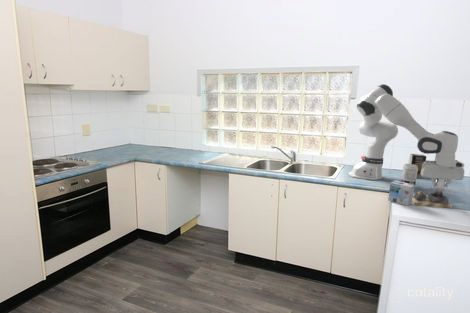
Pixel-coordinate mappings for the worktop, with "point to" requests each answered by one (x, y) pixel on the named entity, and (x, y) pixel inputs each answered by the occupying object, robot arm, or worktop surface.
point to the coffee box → (417, 162)
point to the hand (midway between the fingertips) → (439, 186)
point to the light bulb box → (401, 192)
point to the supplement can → (409, 174)
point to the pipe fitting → (439, 187)
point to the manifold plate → (430, 200)
